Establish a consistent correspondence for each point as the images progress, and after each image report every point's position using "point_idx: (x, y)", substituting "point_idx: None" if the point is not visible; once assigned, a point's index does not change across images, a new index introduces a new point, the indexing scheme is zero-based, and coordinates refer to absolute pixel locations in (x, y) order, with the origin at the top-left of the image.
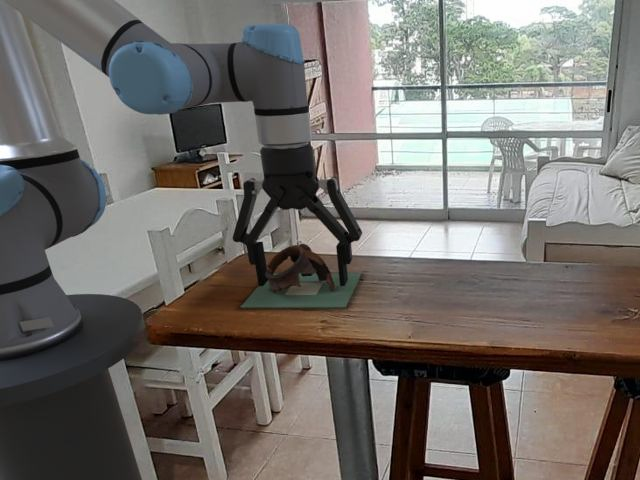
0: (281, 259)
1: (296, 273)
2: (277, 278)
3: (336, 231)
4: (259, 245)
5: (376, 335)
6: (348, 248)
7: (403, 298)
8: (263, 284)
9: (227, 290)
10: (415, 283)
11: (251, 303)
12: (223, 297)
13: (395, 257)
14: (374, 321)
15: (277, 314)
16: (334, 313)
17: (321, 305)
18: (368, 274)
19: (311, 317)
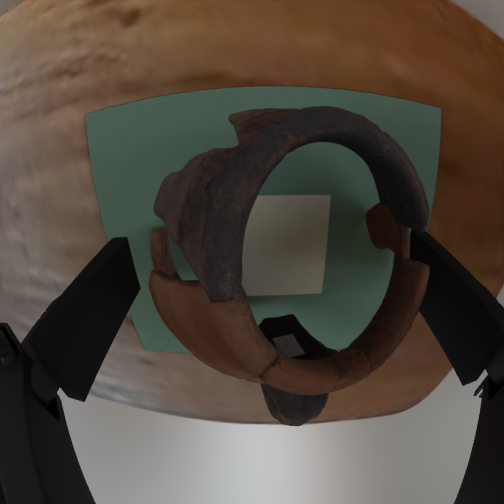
0: (375, 323)
1: (248, 140)
2: (358, 114)
3: (5, 410)
4: (483, 350)
5: (17, 15)
6: (27, 338)
7: (5, 211)
8: (412, 235)
9: (478, 245)
10: (24, 291)
11: (420, 128)
12: (484, 200)
13: (128, 405)
14: (20, 69)
15: (309, 44)
16: (110, 74)
17: (159, 106)
18: (131, 347)
19: (176, 31)
